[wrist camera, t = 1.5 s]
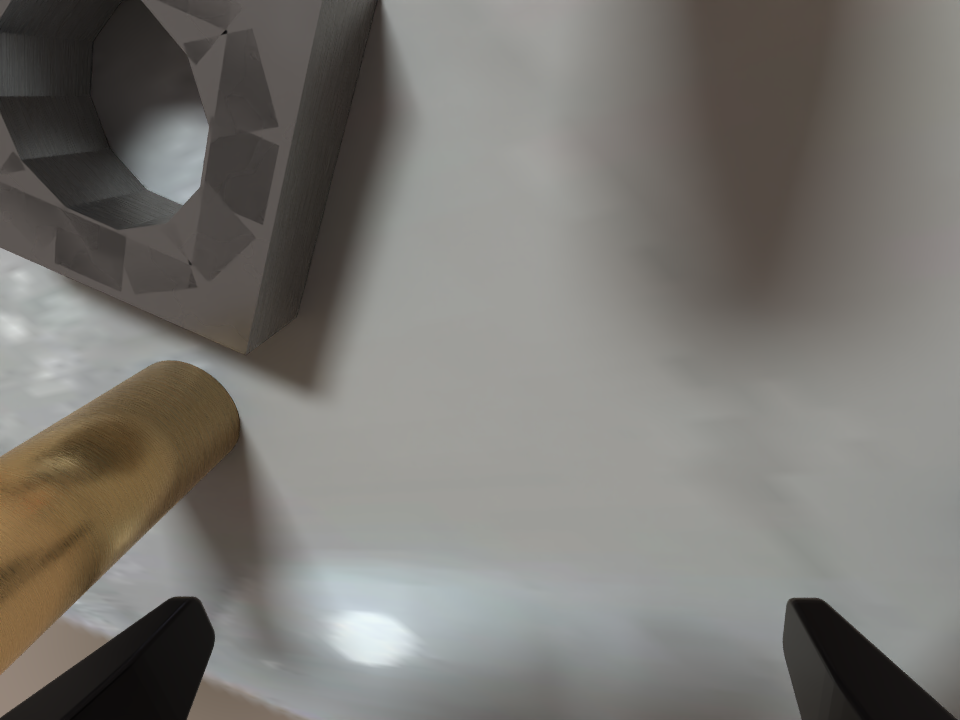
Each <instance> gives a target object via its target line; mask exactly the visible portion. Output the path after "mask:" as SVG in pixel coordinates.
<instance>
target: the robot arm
mask: <svg viewBox="0 0 960 720" xmlns="http://www.w3.org/2000/svg"><path fill="white" fill-rule="evenodd" d="M214 642H215V633H214V629H213V627H212V625H211V622H210V620H209V618H208V616H207V614H206V611H205V609H204V607H203V605H202V603H201V601H200V600H199V599H198V598H196V597H173V598H170V599H168V600H167V601H165V602H164V603H162V604H161V605H160V606H158V607H157V608H155V609H154V610H153V611H151V612H150V613H148V614H147V615H145V616H144V617H143V618H141V619H140V620H138V621H137V622H135V623H134V624H133V625H131V626H130V627H128V628H127V629H126V630H124V631H123V632H121V633H120V634H118V635H117V636H116V637H114V638H113V639H111V640H110V641H109V642H107V643H106V644H104V645H103V646H102V647H100V648H99V649H97V650H96V651H94V652H93V653H92V654H90V655H89V656H87V657H86V658H85V659H83V660H82V661H80V662H79V663H77V664H76V665H74V666H73V667H72V668H70V669H69V670H68V671H66V672H65V673H63V674H62V675H60V676H59V677H57V678H56V679H55V680H53V681H52V682H50V683H49V684H47V685H46V686H45V687H43V688H42V689H40V690H39V691H38V692H36V693H35V694H33V695H32V696H31V697H29V698H28V699H26V700H25V701H23V702H22V703H21V704H19V705H18V706H16V707H15V708H14V709H12V710H11V711H9V712H8V713H6V714H5V715H3V716H2V717H1V718H0V720H187V717H188V714H189V712H190V709H191V706H192V704H193V701H194V698H195V696H196V693H197V690H198V688H199V685H200V682H201V680H202V677H203V674H204V672H205V669H206V666H207V663H208V661H209V658H210V655H211V653H212V650H213V647H214ZM783 650H784V656H785V660H786V663H787V667H788V671H789V674H790V678H791V682H792V685H793V689H794V693H795V696H796V700H797V704H798V707H799V711H800V715H801V718H802V720H957V719H956V718H955V717H954V716H953V715H951V714H950V713H949V712H948V711H947V710H946V709H945V708H944V707H942V706H941V705H940V704H939V703H938V702H937V701H936V700H935V699H934V698H932V697H931V696H930V695H929V694H928V693H927V692H926V691H925V690H923V689H922V688H921V687H920V686H919V685H918V684H917V683H916V682H915V681H913V680H912V679H911V678H910V677H909V676H908V675H907V674H906V673H905V672H903V671H902V670H901V669H900V668H899V667H898V666H897V665H896V664H894V663H893V662H892V661H891V660H890V659H889V658H888V657H887V656H886V655H884V654H883V653H882V652H881V651H880V650H879V649H878V648H877V647H875V646H874V645H873V644H872V643H871V642H870V641H869V640H868V639H867V638H865V637H864V636H863V635H862V634H861V633H860V632H859V631H858V630H857V629H855V628H854V627H853V626H852V625H851V624H850V623H849V622H848V621H846V620H845V619H844V618H843V617H842V616H841V615H840V614H839V613H838V612H836V611H835V610H834V609H833V608H832V607H831V606H830V605H829V604H827V603H826V602H825V601H823V600H822V599H819V598H791V599H789V600H788V602H787V605H786V613H785V622H784V632H783Z"/></svg>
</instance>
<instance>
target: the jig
mask: <svg viewBox="0 0 960 720" xmlns="http://www.w3.org/2000/svg"><path fill="white" fill-rule="evenodd" d="M121 1H126V0H0V248H3V249H5V250H7V251H10V252H12V253H14V254H16V255H19V256H21V257H23V258H25V259H28V260H30V261H32V262H35V263H37V264H39V265H41V266H44V267H46V268H48V269H50V270H53V271H55V272H57V273H60V274H62V275H64V276H66V277H69V278H71V279H73V280H75V281H78V282H80V283H82V284H85V285H87V286H89V287H91V288H94V289H96V290H98V291H101V292H103V293H105V294H107V295H110V296H112V297H114V298H116V299H119V300H121V301H123V302H126V303H128V304H130V305H132V306H135V307H137V308H139V309H141V310H144V311H146V312H148V313H151V314H153V315H155V316H157V317H160V318H162V319H164V320H166V321H169V322H171V323H173V324H176V325H178V326H180V327H182V328H185V329H187V330H189V331H192V332H194V333H196V334H198V335H201V336H203V337H205V338H207V339H210V340H212V341H214V342H217V343H219V344H221V345H223V346H226V347H228V348H230V349H232V350H235V351H237V352H239V353H242V354H244V355H246V354H248V353H249V352H250V351H252V350H253V349H255V348H256V347H257V346H259V345H260V344H261V343H263V342H264V341H265V340H267V339H268V338H269V337H271V336H272V335H273V334H275V333H276V332H277V331H279V330H280V329H281V328H283V327H284V326H285V325H287V324H288V323H289V322H291V321H292V320H293V319H295V318H296V317H297V313H298V309H299V306H300V302H301V298H302V294H303V290H304V286H305V282H306V278H307V274H308V270H309V266H310V262H311V258H312V254H313V250H314V247H315V243H316V239H317V235H318V231H319V227H320V223H321V219H322V215H323V211H324V207H325V203H326V199H327V195H328V192H329V188H330V184H331V180H332V176H333V172H334V168H335V164H336V160H337V156H338V152H339V148H340V144H341V140H342V136H343V133H344V129H345V125H346V121H347V117H348V113H349V109H350V105H351V101H352V97H353V93H354V89H355V85H356V81H357V78H358V74H359V70H360V66H361V62H362V58H363V54H364V50H365V46H366V42H367V38H368V34H369V30H370V26H371V22H372V19H373V15H374V11H375V7H376V3H377V0H141V1H142V2H143V3H144V4H145V5H146V7H147V8H148V9H149V10H150V11H151V13H152V14H153V15H154V16H155V17H156V19H157V20H158V21H159V22H160V23H161V25H162V26H163V27H164V28H165V29H166V31H167V32H168V33H169V34H170V35H171V37H172V38H173V39H174V40H175V41H176V43H177V44H178V45H179V46H180V47H181V49H182V50H183V51H184V52H185V53H186V55H187V56H188V59H189V62H190V66H191V69H192V72H193V75H194V79H195V82H196V85H197V88H198V92H199V95H200V98H201V101H202V105H203V108H204V111H205V114H206V118H207V121H208V124H209V132H208V138H207V145H206V152H205V158H204V165H203V172H202V178H201V185H200V188H199V189H198V190H197V191H196V192H195V193H194V194H193V195H192V197H191V198H190V199H189V200H188V201H187V202H186V203H185V204H184V205H183V206H182V205H180V204H178V203H175V202H173V201H171V200H169V199H166V198H164V197H162V196H160V195H157V194H155V193H153V192H150V191H148V190H146V189H145V188H144V187H143V185H142V184H141V183H140V182H139V181H138V180H137V179H136V178H135V177H134V175H133V174H132V173H131V172H130V171H129V170H128V169H127V168H126V167H125V165H124V164H123V163H122V162H121V161H120V160H119V159H118V158H117V157H116V155H115V154H114V153H113V152H112V151H111V150H110V148H109V146H108V143H107V140H106V138H105V135H104V132H103V130H102V127H101V124H100V122H99V119H98V116H97V114H96V111H95V108H94V106H93V103H92V100H91V98H90V82H91V64H92V46H93V40H94V39H95V38H96V36H97V35H98V33H99V32H100V30H101V29H102V28H103V26H104V25H105V23H106V22H107V21H108V19H109V18H110V16H111V15H112V13H113V12H114V11H115V9H116V8H117V6H118V5H119V4H120V2H121Z"/></svg>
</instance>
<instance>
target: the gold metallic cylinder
mask: <svg viewBox="0 0 960 720" xmlns="http://www.w3.org/2000/svg"><path fill="white" fill-rule="evenodd" d="M239 432H240V421H239V416H238V412H237V409H236V407H235V404H234V402H233V400H232V399H231V397H230V395H229V394H228V392H227V391H226V390H225V389H224V387H223V386H222V385H221V384H220V383H219V382H218V381H217V380H216V379H214V378H213V377H212V376H211V375H209V374H208V373H206V372H205V371H203V370H202V369H200V368H198V367H196V366H193V365H191V364H188V363H185V362H180V361H169V360H168V361H160V362H157V363H154V364H152V365H150V366H148V367H147V368H145V369H143V370H142V371H140V372H138V373H137V374H135V375H133V376H132V377H130V378H129V379H127V380H125V381H124V382H122V383H120V384H119V385H117V386H115V387H114V388H112V389H111V390H109V391H107V392H106V393H104V394H102V395H101V396H99V397H97V398H96V399H94V400H92V401H91V402H89V403H88V404H86V405H84V406H83V407H81V408H79V409H78V410H76V411H74V412H73V413H71V414H70V415H68V416H66V417H65V418H63V419H61V420H60V421H58V422H56V423H55V424H53V425H51V426H50V427H48V428H47V429H45V430H43V431H42V432H40V433H38V434H37V435H35V436H33V437H32V438H30V439H29V440H27V441H25V442H24V443H22V444H20V445H19V446H17V447H15V448H14V449H12V450H10V451H9V452H7V453H6V454H4V455H2V456H1V457H0V675H1V674H2V673H3V672H4V671H5V670H6V669H7V668H8V667H9V666H10V665H11V664H12V663H13V662H14V661H15V660H16V659H17V658H18V657H19V656H20V655H22V654H23V653H24V651H26V650H27V649H28V648H29V647H30V646H31V645H32V644H33V643H34V642H35V641H36V640H37V639H38V638H39V637H40V636H41V635H42V634H43V633H44V632H45V631H46V630H47V629H48V628H49V627H50V626H51V625H52V624H53V623H54V622H55V621H56V620H57V619H58V618H60V617H61V616H62V615H63V614H64V613H65V612H66V611H67V610H68V609H69V608H70V607H71V606H72V605H73V604H74V603H75V602H76V601H77V600H78V599H79V598H80V597H81V596H82V595H83V594H84V593H85V592H86V591H87V590H88V589H89V588H90V587H91V586H92V585H93V584H94V583H95V582H96V581H98V580H99V579H100V578H101V577H102V576H103V575H104V574H105V573H106V572H107V571H108V570H109V569H110V568H111V567H112V566H113V565H114V564H115V563H116V562H117V561H118V560H119V559H120V558H121V557H122V556H123V555H124V554H125V553H126V552H127V551H128V550H129V549H130V548H131V547H132V546H133V545H134V544H136V543H137V542H138V541H139V540H140V539H141V538H142V537H143V536H144V535H145V534H146V533H147V532H148V531H149V530H150V529H151V528H152V527H153V526H154V525H155V524H156V523H157V522H158V521H159V520H160V519H161V518H162V517H163V516H164V515H165V514H166V513H167V512H168V511H169V510H170V509H171V508H172V507H174V506H175V505H176V504H177V503H178V502H179V501H180V500H181V499H182V498H183V497H184V496H185V495H186V494H187V493H188V492H189V491H190V490H191V489H192V488H193V487H194V486H195V485H196V484H197V483H198V482H199V481H200V480H201V479H202V478H203V477H204V476H205V475H206V474H207V473H208V472H209V471H210V470H212V469H213V468H214V467H215V466H216V465H217V464H218V463H219V462H220V461H221V460H222V459H223V458H224V457H225V456H226V455H227V454H228V453H229V452H230V451H231V450H232V449H233V447H234V446H235V444H236V443H237V440H238V437H239Z"/></svg>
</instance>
